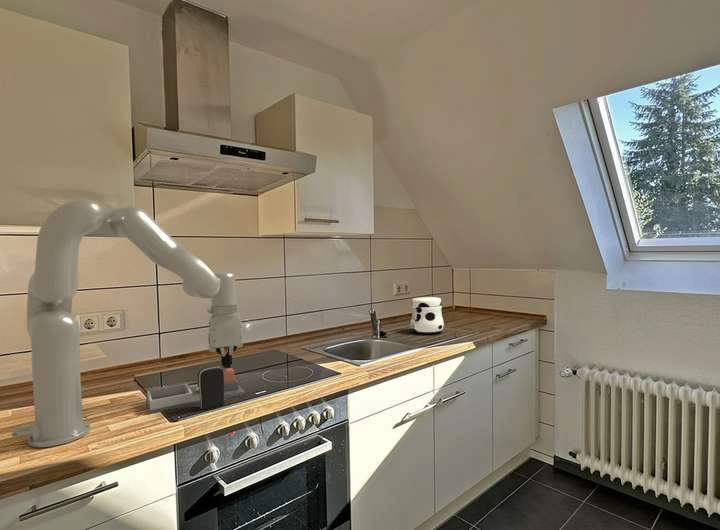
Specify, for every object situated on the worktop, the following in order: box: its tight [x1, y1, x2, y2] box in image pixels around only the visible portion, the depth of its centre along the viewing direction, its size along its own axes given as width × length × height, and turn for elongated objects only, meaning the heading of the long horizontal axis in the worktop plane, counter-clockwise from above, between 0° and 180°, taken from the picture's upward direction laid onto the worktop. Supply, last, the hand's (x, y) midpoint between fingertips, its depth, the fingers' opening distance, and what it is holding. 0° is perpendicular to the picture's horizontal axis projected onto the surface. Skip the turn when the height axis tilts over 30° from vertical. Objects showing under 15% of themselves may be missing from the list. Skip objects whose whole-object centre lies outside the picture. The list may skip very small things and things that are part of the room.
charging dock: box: [145, 378, 246, 415], centre depth 128 cm, size 27×12×4 cm, turn 121°
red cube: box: [222, 367, 236, 384], centre depth 132 cm, size 4×4×4 cm
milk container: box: [410, 296, 445, 335], centre depth 219 cm, size 17×17×18 cm
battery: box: [197, 365, 225, 410], centre depth 120 cm, size 7×4×11 cm, turn 131°
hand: (226, 367), depth 132 cm, fingers closed
